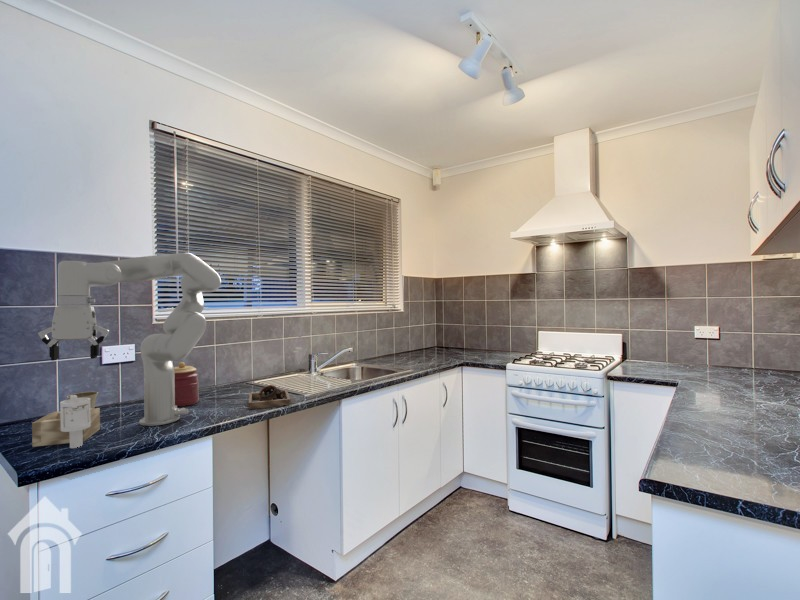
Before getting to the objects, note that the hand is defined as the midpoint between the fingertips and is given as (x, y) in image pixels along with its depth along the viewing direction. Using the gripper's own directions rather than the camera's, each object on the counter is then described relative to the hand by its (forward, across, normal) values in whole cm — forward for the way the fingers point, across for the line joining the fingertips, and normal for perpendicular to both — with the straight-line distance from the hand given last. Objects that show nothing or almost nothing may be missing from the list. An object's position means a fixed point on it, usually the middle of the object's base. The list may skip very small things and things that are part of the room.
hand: (74, 358), depth 121 cm
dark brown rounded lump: (+26, -57, -34) cm, 71 cm away
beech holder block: (+26, +6, -11) cm, 29 cm away
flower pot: (+26, +11, -37) cm, 47 cm away
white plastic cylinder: (+26, 0, 0) cm, 27 cm away
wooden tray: (+26, -56, -34) cm, 71 cm away
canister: (+26, -21, -46) cm, 57 cm away
